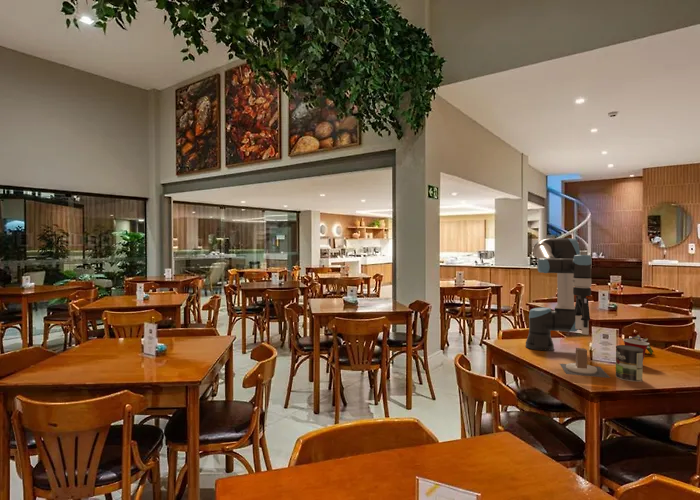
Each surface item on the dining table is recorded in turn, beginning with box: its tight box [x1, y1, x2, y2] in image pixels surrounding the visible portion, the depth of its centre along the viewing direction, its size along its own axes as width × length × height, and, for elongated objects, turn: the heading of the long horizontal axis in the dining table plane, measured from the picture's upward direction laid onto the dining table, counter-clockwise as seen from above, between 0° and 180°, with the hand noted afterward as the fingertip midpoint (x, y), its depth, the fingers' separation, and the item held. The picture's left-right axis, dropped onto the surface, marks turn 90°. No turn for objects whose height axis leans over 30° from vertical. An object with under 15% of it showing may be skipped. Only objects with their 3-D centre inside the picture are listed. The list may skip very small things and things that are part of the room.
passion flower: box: [627, 334, 654, 355], centre depth 233 cm, size 11×11×12 cm
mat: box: [559, 363, 611, 379], centre depth 197 cm, size 18×18×1 cm
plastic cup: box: [622, 338, 650, 360], centre depth 209 cm, size 11×11×12 cm
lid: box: [565, 347, 597, 374], centre depth 197 cm, size 13×13×10 cm
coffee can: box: [615, 344, 644, 382], centre depth 186 cm, size 10×10×14 cm
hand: (581, 331), depth 197 cm, fingers open, 13 cm apart
